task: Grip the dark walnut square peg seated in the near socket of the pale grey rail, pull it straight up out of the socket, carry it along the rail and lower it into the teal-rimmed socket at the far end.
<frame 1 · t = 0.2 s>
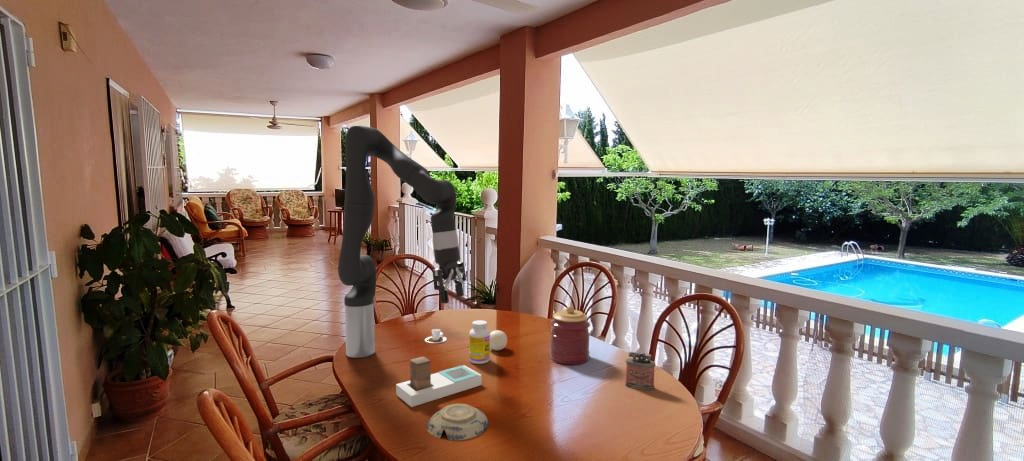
hand: (452, 299, 144), 22 cm above the table, tool pointing down, fingers open, 8 cm apart
walnut peg: (420, 395, 129), resting in socket rail
decorative bowl: (458, 426, 115), on the table
socket rail: (439, 389, 133), on the table
supplement bottle: (479, 361, 155), on the table
teacup and saucer: (444, 340, 176), on the table
baseball: (497, 349, 165), on the table
lighter: (639, 387, 136), on the table
canister: (569, 358, 158), on the table
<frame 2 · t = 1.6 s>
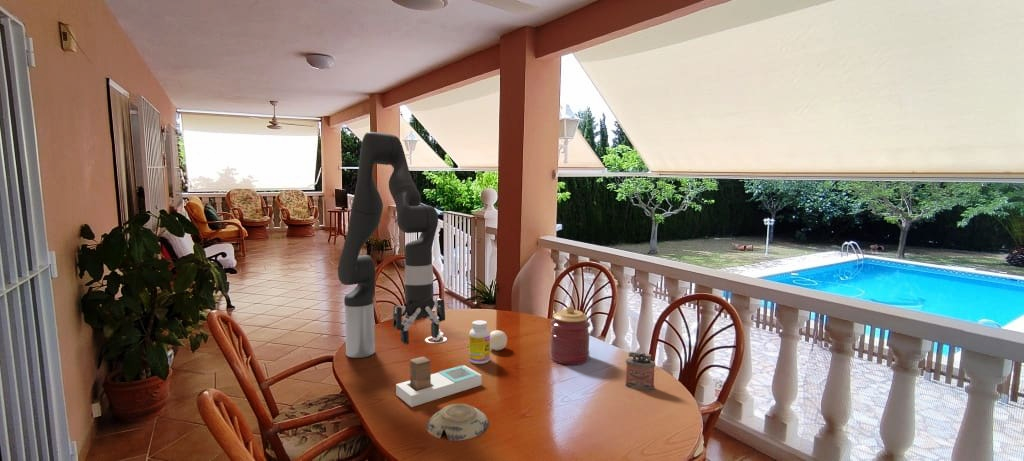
hand: (420, 340, 128), 15 cm above the table, tool pointing down, fingers open, 8 cm apart
nothing on the table moved.
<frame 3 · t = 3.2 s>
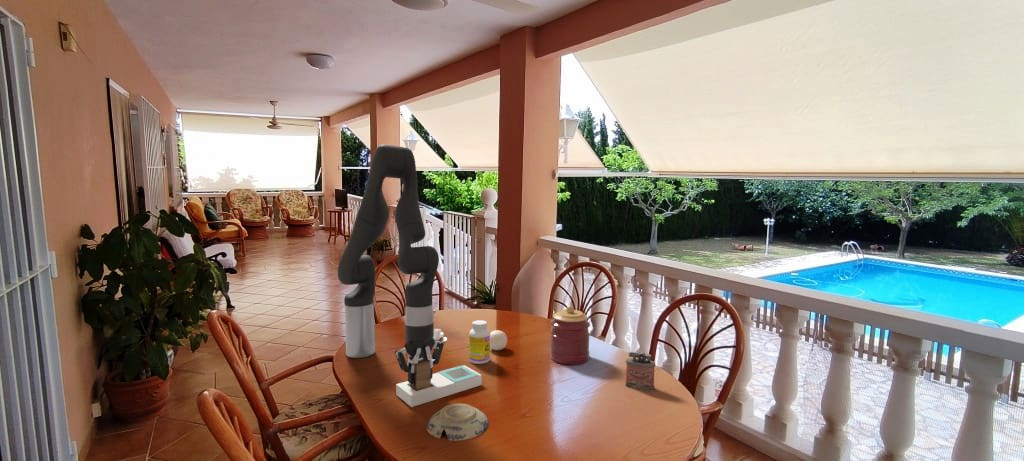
hand: (420, 382, 129), 4 cm above the table, tool pointing down, fingers closed on walnut peg, 4 cm apart
walnut peg: (420, 395, 129), resting in socket rail, touching gripper
everything else where it was.
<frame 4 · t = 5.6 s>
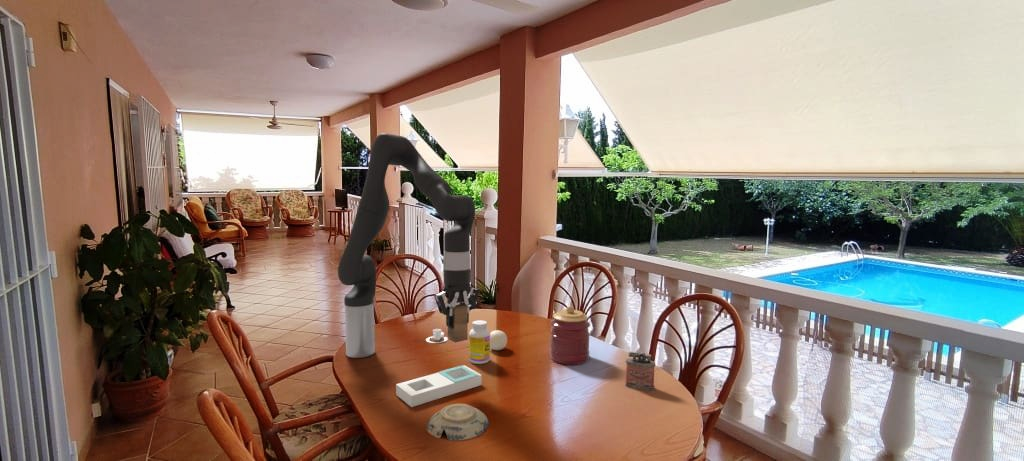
hand: (457, 326, 135), 17 cm above the table, tool pointing down, fingers closed on walnut peg, 4 cm apart
walnut peg: (457, 339, 135), point 13 cm above the table, touching gripper
everything else where it was.
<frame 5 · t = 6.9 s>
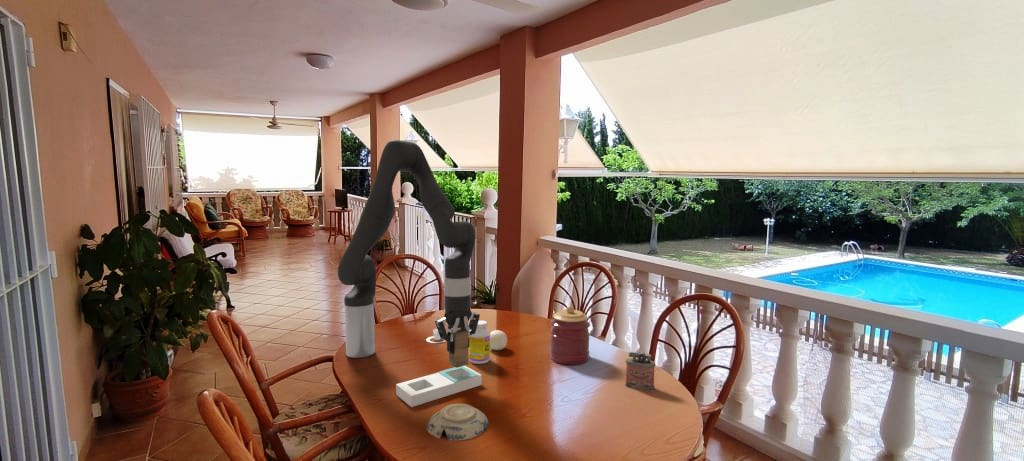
hand: (458, 351, 136), 10 cm above the table, tool pointing down, fingers closed on walnut peg, 4 cm apart
walnut peg: (458, 364, 136), point 6 cm above the table, touching gripper
everything else where it was.
when the fingers open (5 cm above the table, at t = 8.1 s): walnut peg drops 1 cm, resting in socket rail.
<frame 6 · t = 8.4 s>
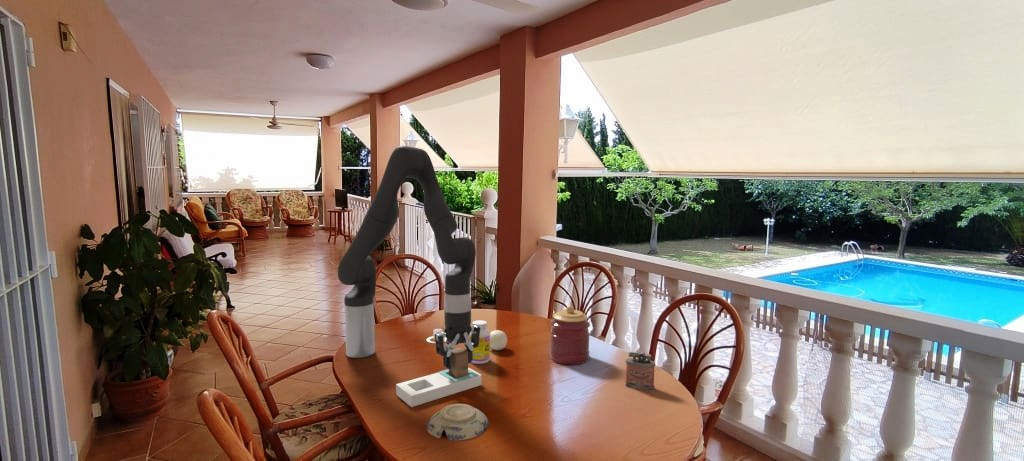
hand: (458, 365, 136), 6 cm above the table, tool pointing down, fingers open, 6 cm apart
walnut peg: (458, 384, 137), resting in socket rail
everything else where it was.
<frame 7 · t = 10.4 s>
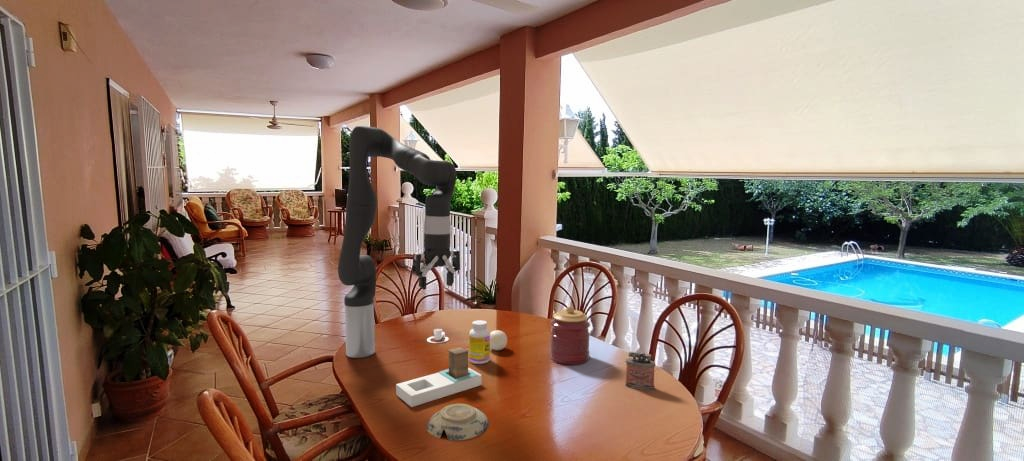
hand: (436, 287, 137), 28 cm above the table, tool pointing down, fingers open, 8 cm apart
nothing on the table moved.
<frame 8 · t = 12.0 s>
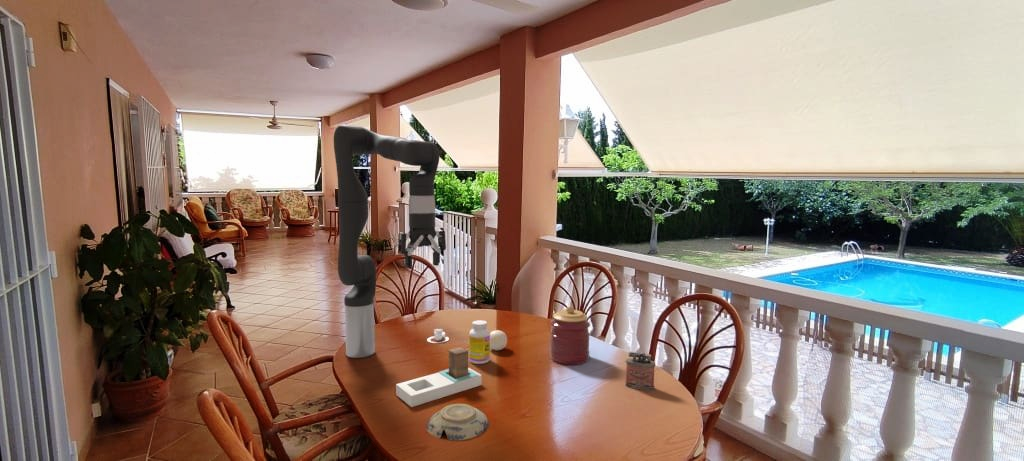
hand: (422, 266, 139), 33 cm above the table, tool pointing down, fingers open, 8 cm apart
nothing on the table moved.
at the end: walnut peg 0.1 cm from the target spot on the socket rail, point 0.0 cm above the socket rail's base; walnut peg tilted 0°; the gripper is holding nothing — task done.
